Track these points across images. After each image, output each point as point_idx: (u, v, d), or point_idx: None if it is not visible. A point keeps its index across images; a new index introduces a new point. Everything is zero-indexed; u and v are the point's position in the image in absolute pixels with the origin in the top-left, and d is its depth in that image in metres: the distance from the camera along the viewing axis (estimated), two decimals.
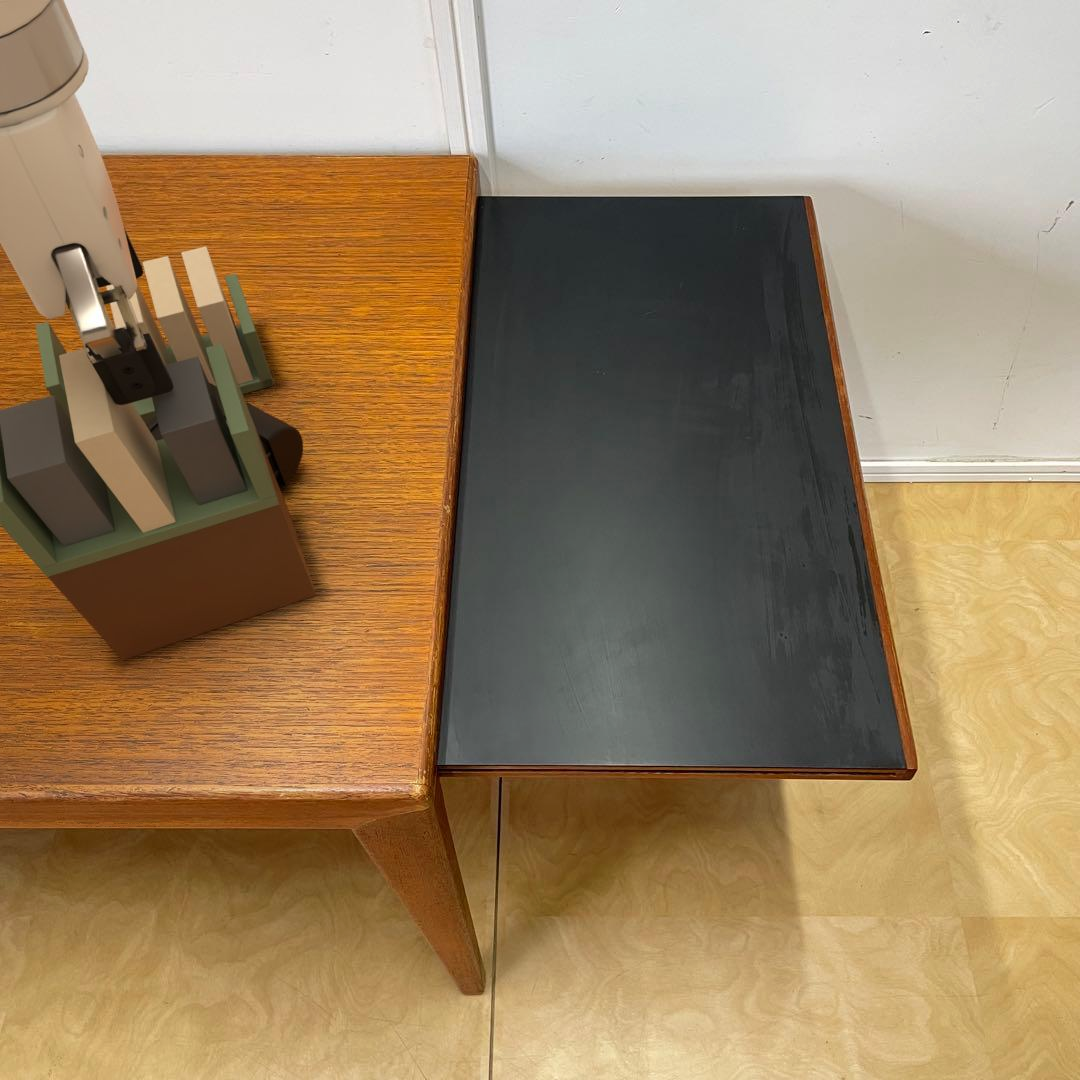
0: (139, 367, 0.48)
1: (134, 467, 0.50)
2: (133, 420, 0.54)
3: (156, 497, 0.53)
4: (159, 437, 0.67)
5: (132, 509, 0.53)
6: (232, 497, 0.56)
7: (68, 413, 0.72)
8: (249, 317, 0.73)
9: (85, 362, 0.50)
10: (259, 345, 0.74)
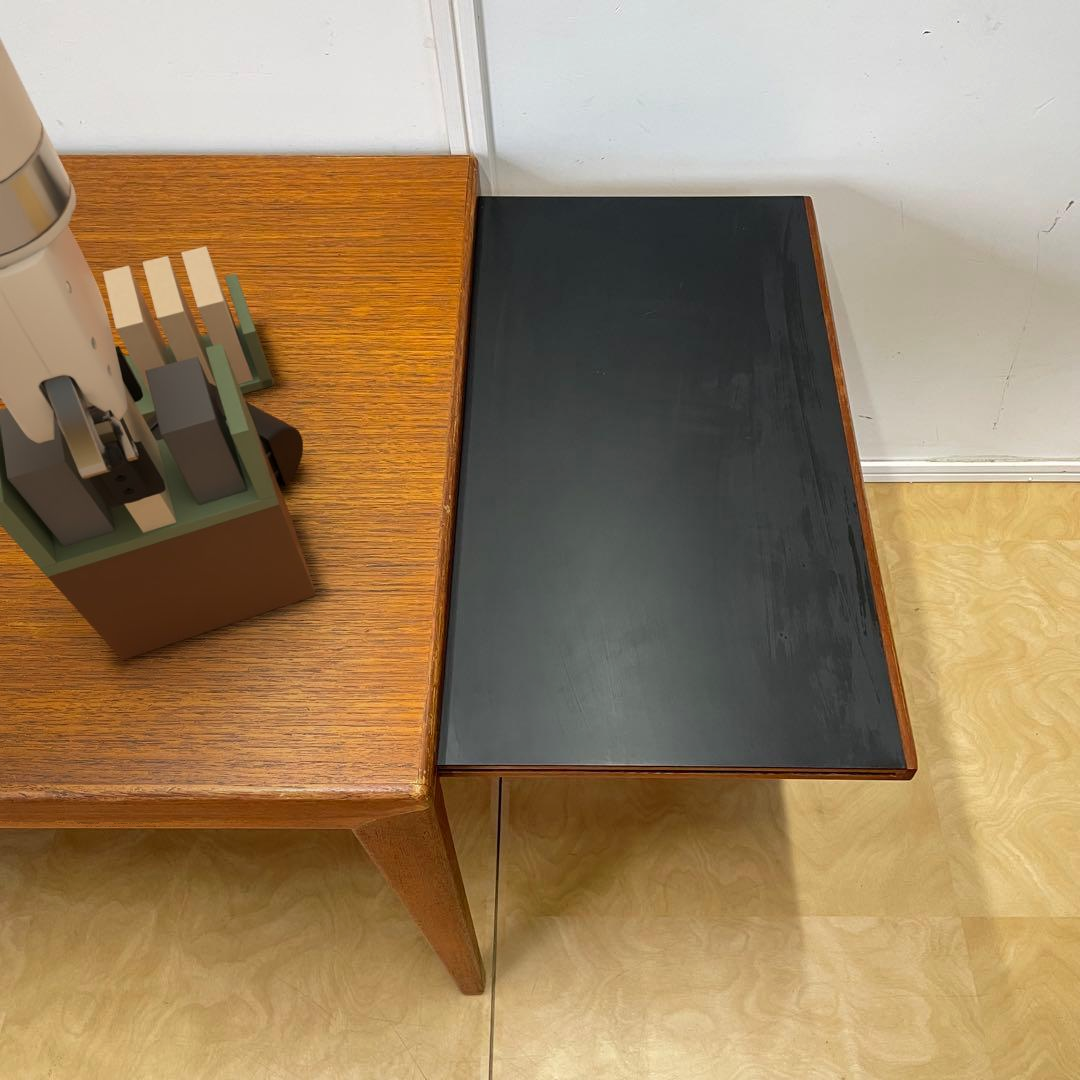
0: (131, 475, 0.49)
1: None
2: (137, 420, 0.54)
3: (158, 497, 0.53)
4: (159, 437, 0.67)
5: (134, 508, 0.53)
6: (232, 497, 0.56)
7: None
8: (249, 317, 0.73)
9: None
10: (259, 345, 0.74)
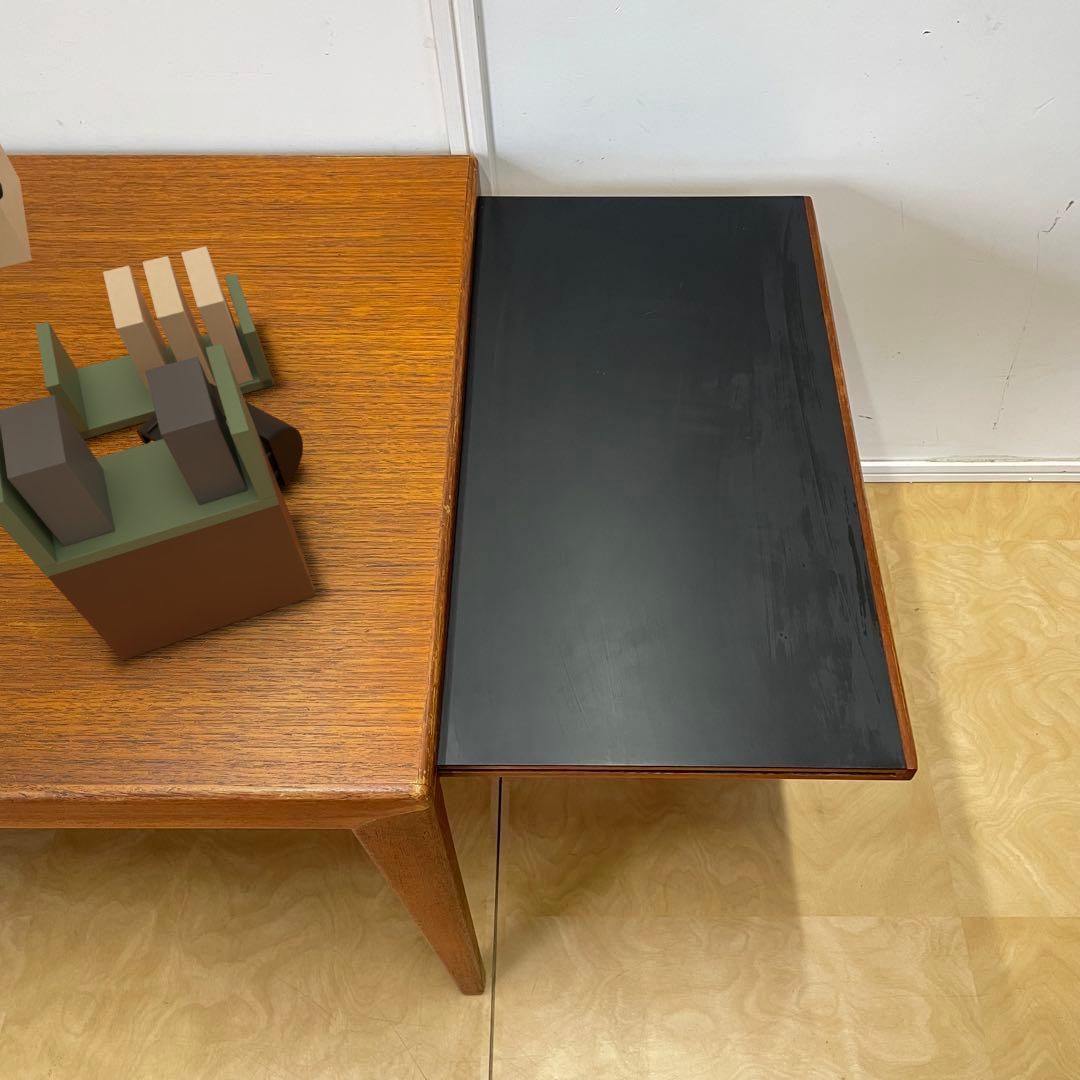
0: None
1: None
2: None
3: (0, 214, 0.42)
4: (159, 437, 0.67)
5: None
6: (232, 497, 0.56)
7: (68, 413, 0.72)
8: (249, 317, 0.73)
9: None
10: (259, 345, 0.74)
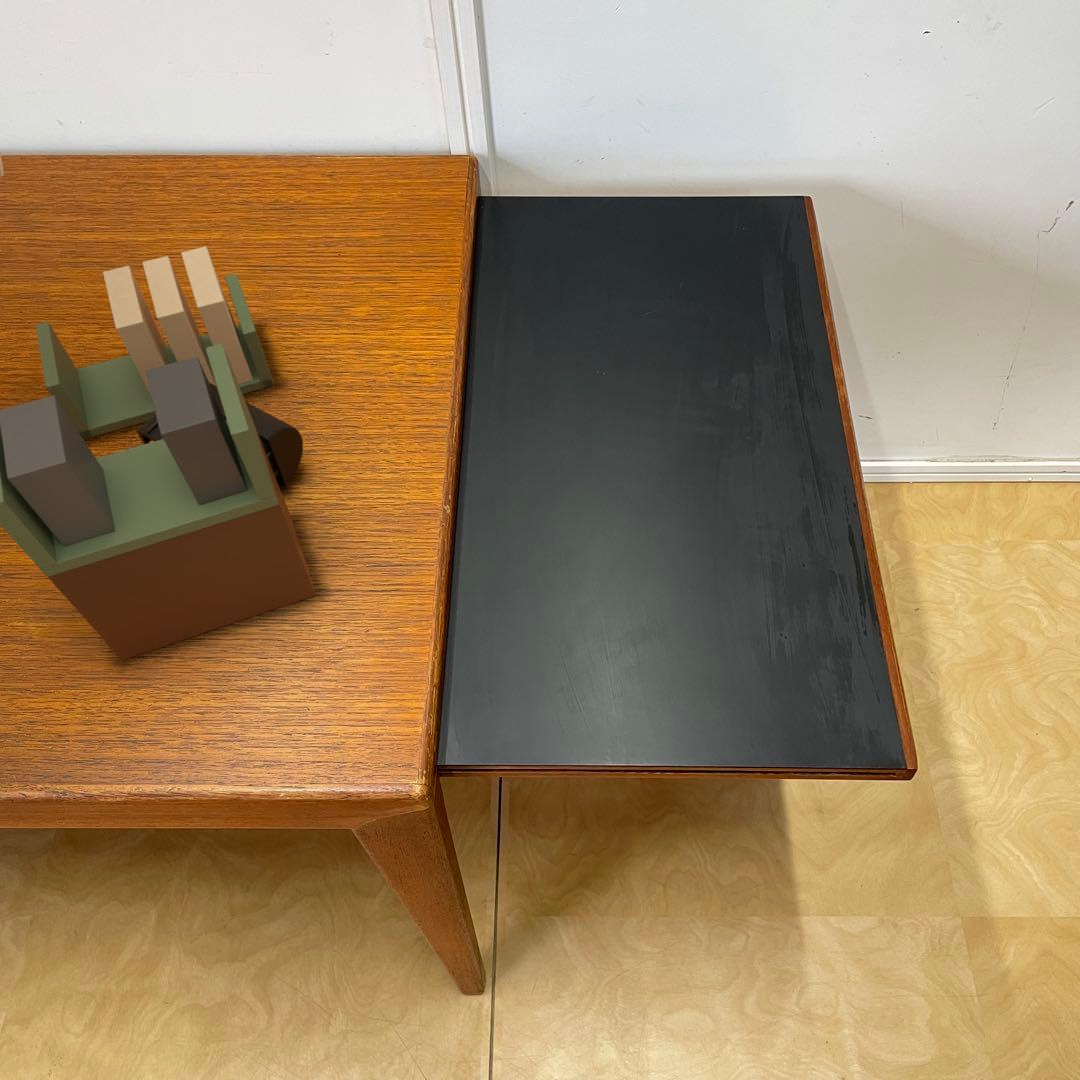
0: None
1: None
2: None
3: None
4: (159, 437, 0.67)
5: None
6: (232, 497, 0.56)
7: (68, 413, 0.72)
8: (249, 317, 0.73)
9: None
10: (259, 345, 0.74)
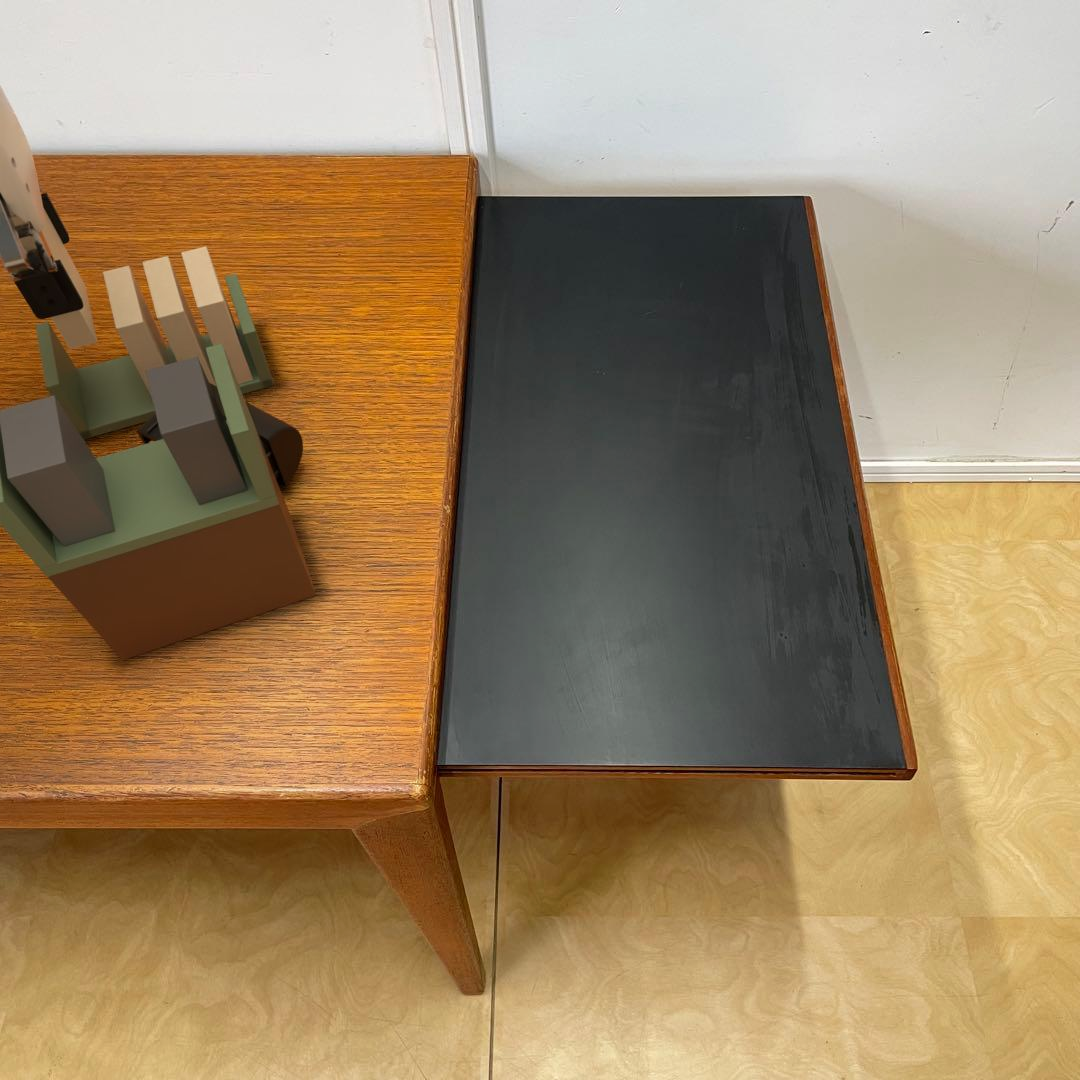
0: (52, 286, 0.62)
1: None
2: (63, 255, 0.66)
3: (80, 316, 0.66)
4: (159, 437, 0.67)
5: (60, 325, 0.66)
6: (232, 497, 0.56)
7: (68, 413, 0.72)
8: (249, 317, 0.73)
9: None
10: (259, 345, 0.74)
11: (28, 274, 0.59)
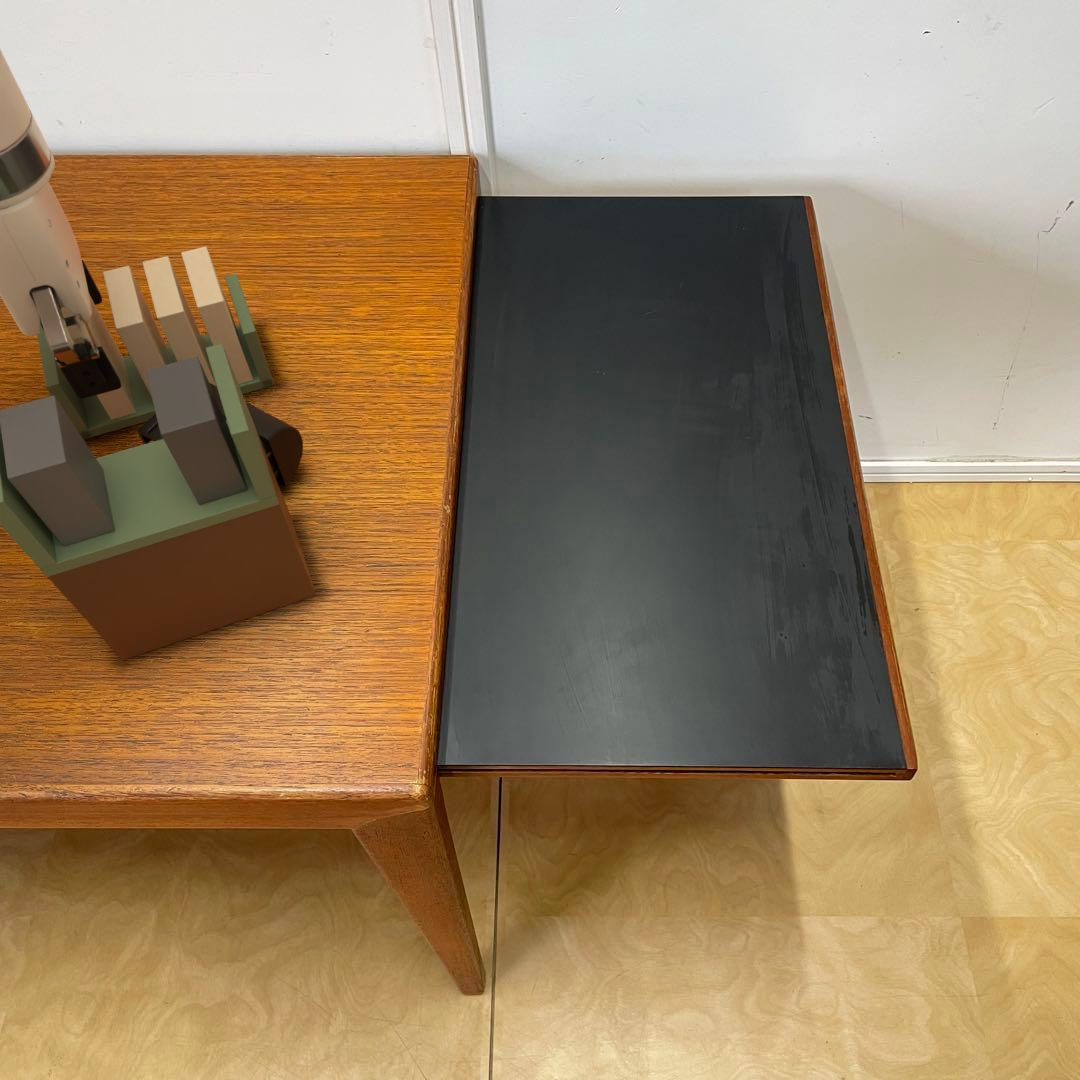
0: (94, 371, 0.67)
1: None
2: (106, 335, 0.73)
3: (121, 391, 0.73)
4: (159, 437, 0.67)
5: (103, 399, 0.73)
6: (232, 497, 0.56)
7: (68, 413, 0.72)
8: (249, 317, 0.73)
9: None
10: (259, 345, 0.74)
11: (74, 363, 0.64)
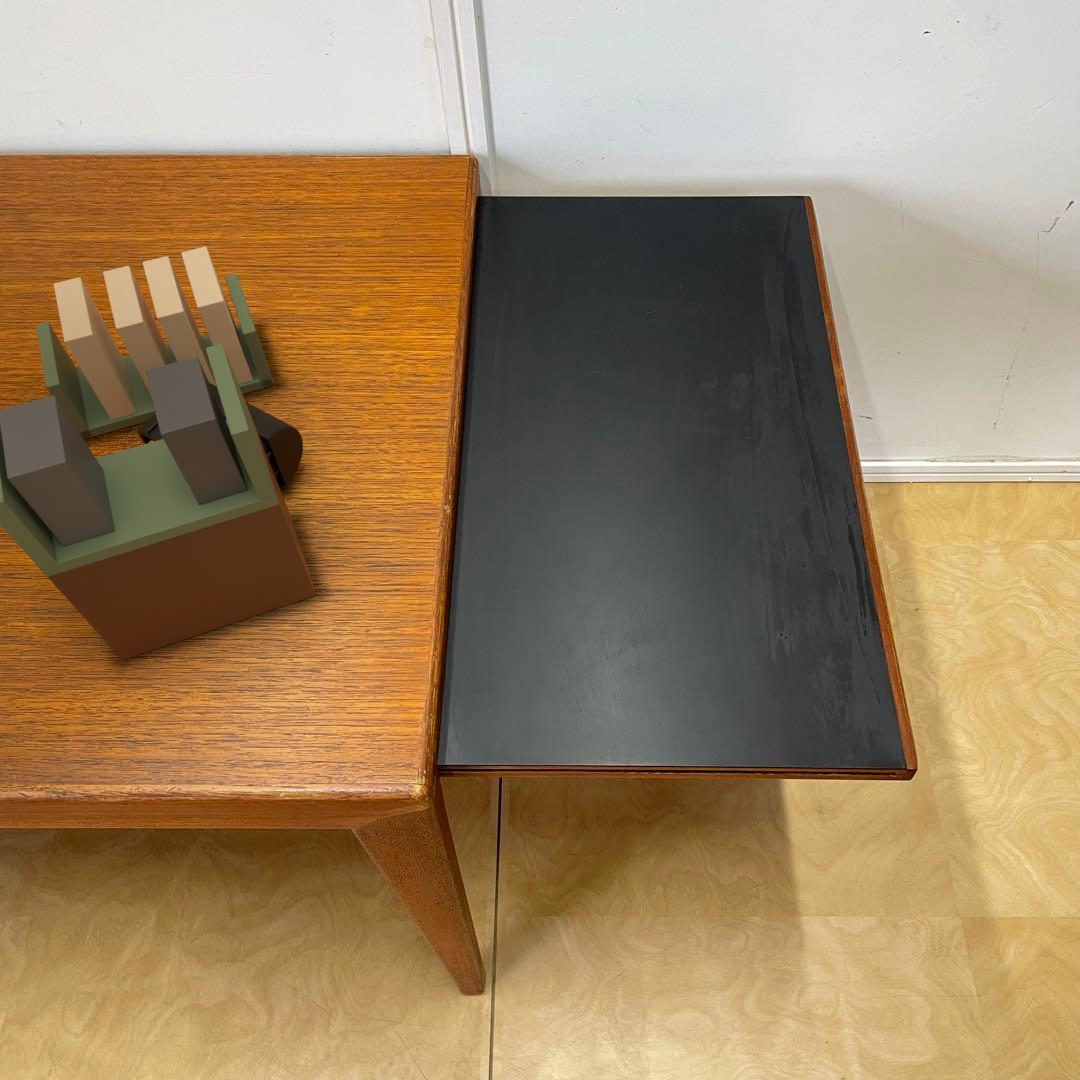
0: None
1: (106, 365, 0.70)
2: (106, 335, 0.73)
3: (121, 391, 0.73)
4: (159, 437, 0.67)
5: (103, 399, 0.73)
6: (232, 497, 0.56)
7: (68, 413, 0.72)
8: (249, 317, 0.73)
9: (72, 288, 0.70)
10: (259, 345, 0.74)
11: None
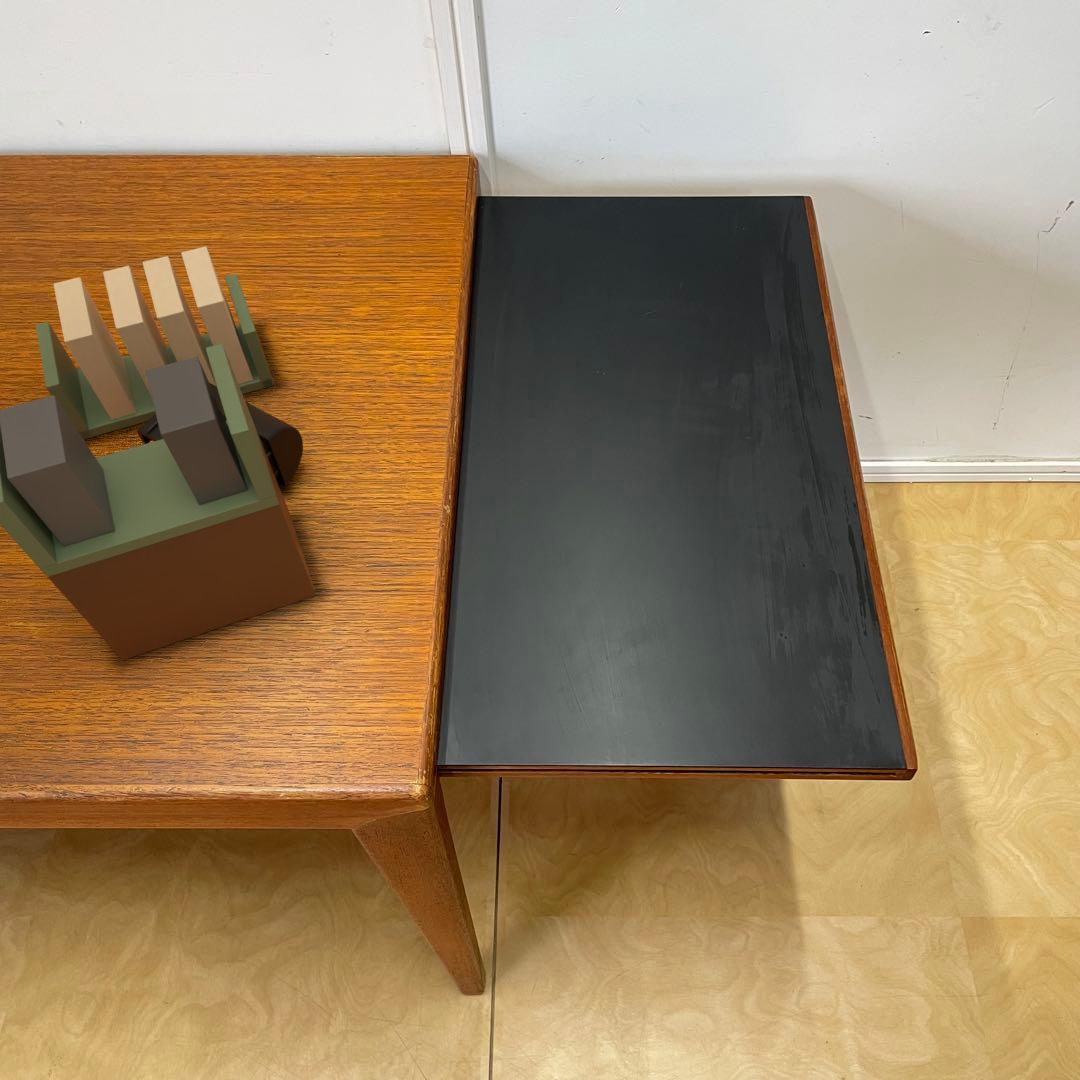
0: None
1: (106, 365, 0.70)
2: (106, 335, 0.73)
3: (121, 391, 0.73)
4: (159, 437, 0.67)
5: (103, 399, 0.73)
6: (232, 497, 0.56)
7: (68, 413, 0.72)
8: (249, 317, 0.73)
9: (72, 288, 0.70)
10: (259, 345, 0.74)
11: None
